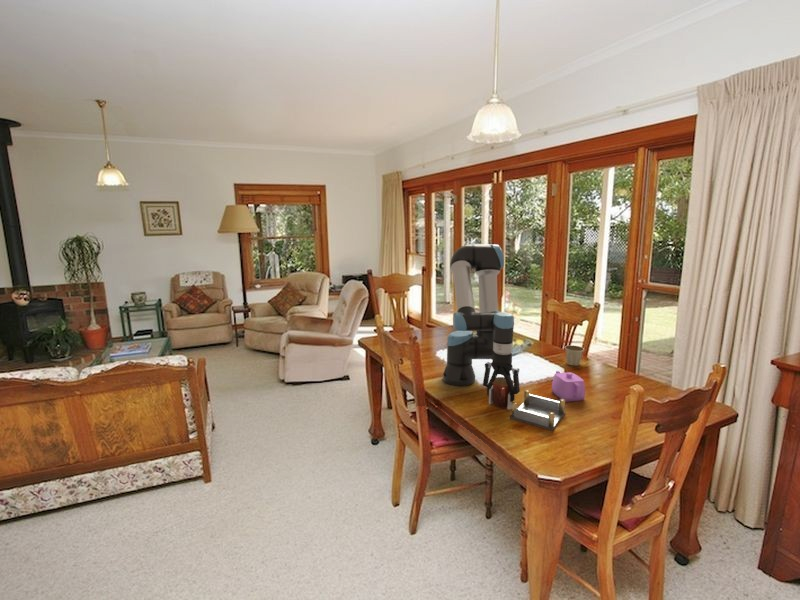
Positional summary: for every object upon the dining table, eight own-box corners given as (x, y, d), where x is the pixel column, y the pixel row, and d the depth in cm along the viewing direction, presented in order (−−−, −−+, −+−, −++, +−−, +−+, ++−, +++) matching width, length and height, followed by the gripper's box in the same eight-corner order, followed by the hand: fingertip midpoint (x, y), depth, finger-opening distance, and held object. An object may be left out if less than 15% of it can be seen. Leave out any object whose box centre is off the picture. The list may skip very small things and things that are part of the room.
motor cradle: (509, 418, 158) (510, 403, 156) (524, 403, 170) (525, 389, 169) (552, 430, 148) (553, 415, 147) (565, 413, 161) (566, 399, 159)
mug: (490, 399, 173) (491, 376, 171) (512, 400, 172) (513, 377, 170) (490, 412, 162) (491, 388, 160) (513, 414, 160) (514, 389, 158)
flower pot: (565, 359, 220) (567, 344, 219) (584, 363, 215) (586, 347, 213) (561, 364, 213) (562, 348, 211) (580, 368, 208) (581, 352, 206)
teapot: (545, 387, 185) (546, 366, 183) (567, 386, 187) (568, 364, 185) (566, 405, 168) (568, 382, 166) (590, 403, 169) (593, 380, 167)
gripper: (474, 349, 165) (473, 402, 170) (524, 359, 153) (520, 416, 158) (483, 344, 171) (481, 396, 176) (531, 354, 159) (527, 408, 164)
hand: (500, 405), depth 167 cm, fingers closed on mug, 7 cm apart
